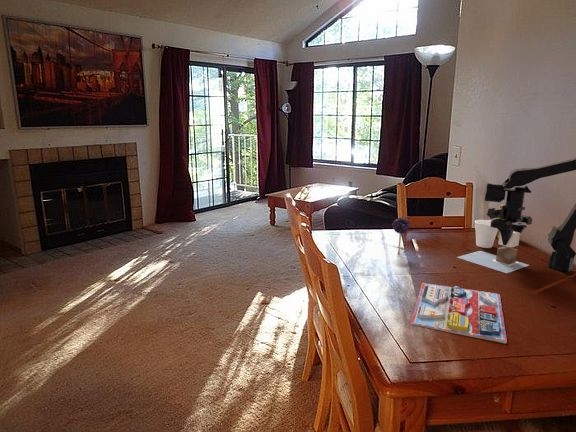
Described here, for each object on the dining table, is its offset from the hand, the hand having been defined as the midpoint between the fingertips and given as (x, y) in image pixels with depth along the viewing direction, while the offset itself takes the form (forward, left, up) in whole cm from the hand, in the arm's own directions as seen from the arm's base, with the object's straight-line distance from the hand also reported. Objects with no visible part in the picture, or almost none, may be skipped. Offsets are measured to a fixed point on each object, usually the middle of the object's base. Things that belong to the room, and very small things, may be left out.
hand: (508, 243), depth 156 cm
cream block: (0, 0, 0) cm, 0 cm away
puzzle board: (-14, +51, -9) cm, 54 cm away
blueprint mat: (+3, +4, -8) cm, 9 cm away
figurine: (+20, -34, -8) cm, 41 cm away
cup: (+16, -12, -8) cm, 22 cm away
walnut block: (0, 0, -7) cm, 7 cm away
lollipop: (+29, +27, -8) cm, 41 cm away
